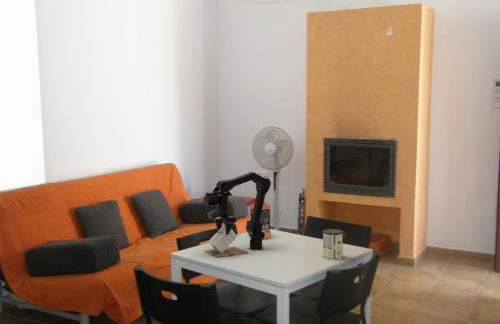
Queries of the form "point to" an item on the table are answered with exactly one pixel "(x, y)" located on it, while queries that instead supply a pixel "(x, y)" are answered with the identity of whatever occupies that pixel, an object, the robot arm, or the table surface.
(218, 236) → the supplement box
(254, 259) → the table surface
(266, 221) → the whiskey bottle
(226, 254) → the walnut board
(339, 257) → the coffee can
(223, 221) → the robot arm
